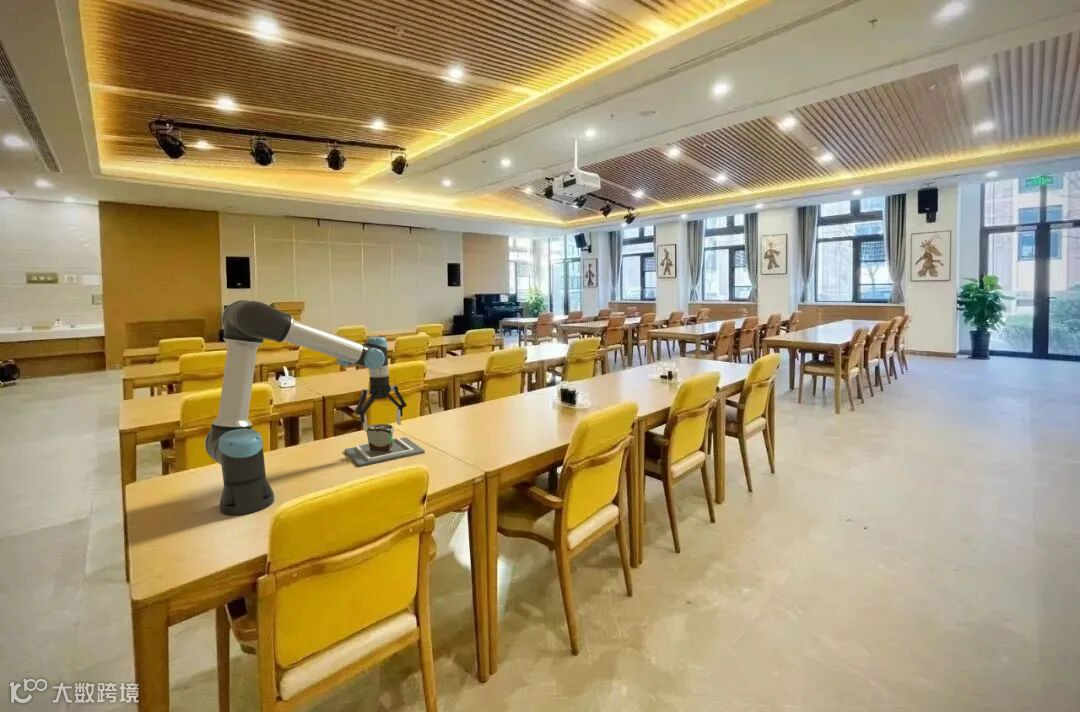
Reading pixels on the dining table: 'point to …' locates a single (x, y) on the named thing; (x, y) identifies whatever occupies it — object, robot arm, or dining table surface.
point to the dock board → (399, 450)
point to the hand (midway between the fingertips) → (382, 427)
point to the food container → (380, 437)
